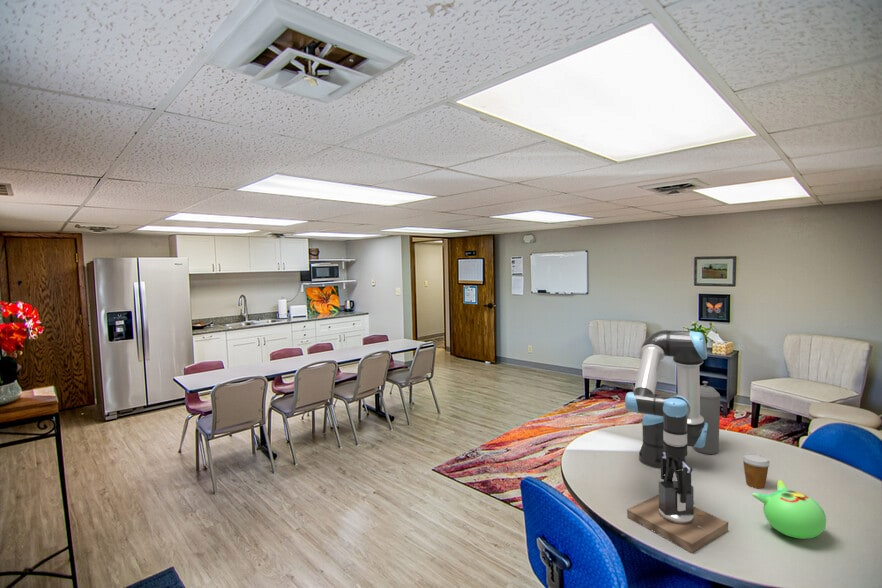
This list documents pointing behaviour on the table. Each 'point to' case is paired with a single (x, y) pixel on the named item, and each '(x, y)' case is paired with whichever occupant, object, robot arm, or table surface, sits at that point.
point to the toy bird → (793, 512)
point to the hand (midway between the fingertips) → (675, 505)
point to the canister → (710, 418)
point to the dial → (674, 503)
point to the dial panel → (679, 525)
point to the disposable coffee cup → (755, 470)
